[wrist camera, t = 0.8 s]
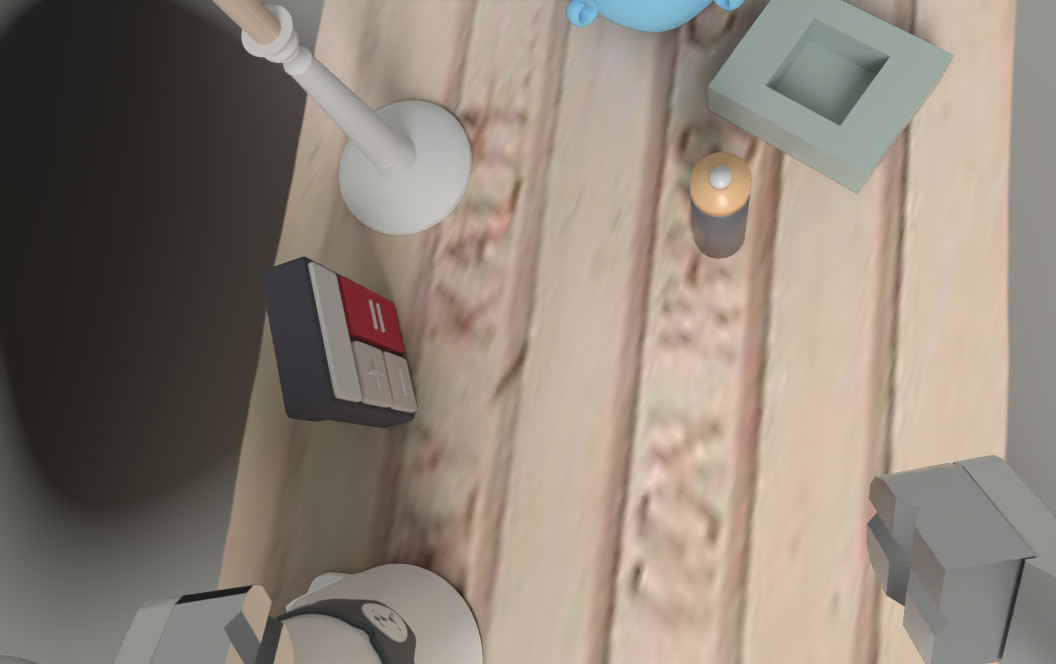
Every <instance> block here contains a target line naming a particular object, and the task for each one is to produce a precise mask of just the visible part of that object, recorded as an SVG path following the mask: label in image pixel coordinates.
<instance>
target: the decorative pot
mask: <svg viewBox="0 0 1056 664" xmlns="http://www.w3.org/2000/svg"><path fill="white" fill-rule="evenodd" d="M713 1H714V2H715V3H716V4H717V5H718V6H719V7H720V8H722V9H724V10H727V11H732V10H734V9H737V8H738V7H740V6H741V5H742V3H743V2H744V0H571V2H570V3H569V4H568V6H567V9H566V16H567V18H568V20H569V22H570V23H571V24H572V25H574V26H576V27H583V26H586V25H588V24H590V23H591V22H592V21H593V20H594V19H595V18H596V16H597V14H600V15H601V16H603V17H605V18H607V19H609V20H610V21H612V22H615V23H617V24H620V25H622V26H625V27H628V28H632V29H635V30H639V31H644V32H664V31H669V30H672V29H675V28H677V27H679V26H681V25H683V24H685V23H686V22H688V21H689V20H691V19H692V18H694V17H695V16H696V15H698V14H699V13H700V12H701V11H702V10H704V9H705V8H706V7H707V6H708V5H709V4H711V3H712V2H713Z"/></svg>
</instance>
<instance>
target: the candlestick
mask: <svg viewBox="0 0 1056 664" xmlns="http://www.w3.org/2000/svg"><path fill="white" fill-rule="evenodd" d="M212 1H214V2H215V3H216V4H217V5H218V6H219V7H220V8H221V9H222V10H223V11H224V12H225V13H226V14H227V15H228V16H229V17H230V18H231V19H232V20H234V21H235V22H236V23H237V24H238V25H239V26H240V27H241V28H242V29H243V30H242V43H243V45H244V47H245V49H246V50H247V51H248V52H249V53H250V54H252V55H254V56H257V57H265V58H266V59H268V60H269V61H272V62H277V63H279V62H281V63H283V66H284V69H285V71H286V72H287V73H288V74H290V75H291V76H292V77H293V78H294V79H295V80H296V81H297V82H298V83H299V84H300V85H301V86H302V88H303V89H305V91H306V92H307V93H308V94H309V95H310V96H311V97H312V98H313V99H314V101H315V102H316V103H317V104H318V105H319V106H320V107H321V108H322V109H323V110H324V111H325V112H326V114H327V115H328V116H329V117H330V118H331V119H332V120H333V121H334V122H335V123H336V124H337V125H338V127H339V128H340V129H341V130H342V131H343V132H344V133H345V134H346V135H347V136H348V137H349V140H348V141H347V143H346V145H345V148H344V150H343V153H342V156H341V160H340V166H339V185H340V190H341V194H342V197H343V199H344V202H345V203H346V205H347V207H348V209H349V210H350V212H351V213H352V214H353V215H354V216H355V217H356V218H357V219H358V220H359V221H360V222H361V223H363V224H364V225H366V226H367V227H369V228H370V229H372V230H374V231H377V232H379V233H383V234H387V235H395V236H402V235H411V234H415V233H419V232H422V231H424V230H427V229H429V228H431V227H433V226H434V225H436V224H438V223H439V222H441V221H442V220H443V219H444V218H446V217H447V216H448V215H449V214H450V213H451V212H452V211H453V210H454V208H455V207H456V206H457V205H458V203H459V202H460V200H461V199H462V197H463V195H464V193H465V191H466V189H467V187H468V184H469V181H470V177H471V172H472V150H471V145H470V142H469V139H468V137H467V134H466V132H465V131H464V129H463V127H462V126H461V125H460V123H459V122H458V121H457V119H456V118H455V117H454V116H453V115H451V114H450V113H449V112H448V111H446V110H445V109H443V108H441V107H439V106H437V105H435V104H432V103H429V102H425V101H418V100H409V101H401V102H396V103H393V104H390V105H387V106H385V107H383V108H381V109H379V110H377V111H375V112H374V111H373V110H372V109H371V108H370V107H369V106H368V105H367V104H366V103H365V102H363V101H362V100H361V99H360V98H359V97H358V96H357V95H356V94H355V93H354V92H352V91H351V90H350V89H349V88H348V87H347V86H346V85H345V84H344V83H343V82H341V81H340V80H339V79H338V78H337V77H336V76H335V75H334V74H333V73H332V72H330V71H329V70H328V69H327V68H326V67H325V66H324V65H323V64H322V63H321V62H319V61H318V60H317V59H316V58H315V57H314V56H313V55H312V54H311V52H310V51H309V50H308V49H307V48H305V47H302V46H299V40H298V34H297V32H296V31H295V29H294V28H293V22H292V18H291V15H290V14H289V12H288V11H287V10H286V9H285V8H283V7H282V6H279V5H266V6H265V5H264V4H263V3H262V2H261V1H260V0H212Z"/></svg>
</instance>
